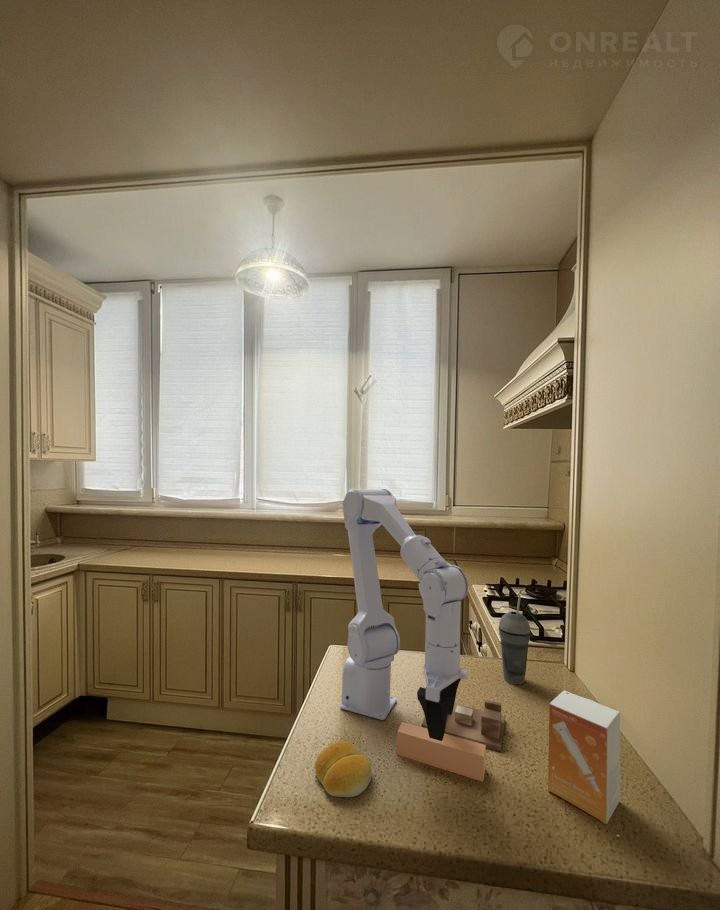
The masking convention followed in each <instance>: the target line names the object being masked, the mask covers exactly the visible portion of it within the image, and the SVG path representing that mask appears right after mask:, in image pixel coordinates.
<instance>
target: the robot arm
mask: <svg viewBox="0 0 720 910" xmlns="http://www.w3.org/2000/svg"><path fill="white" fill-rule="evenodd" d="M341 505H342V512H343V513H342V514H343V520H344V527H345V530H347V537H348V543H349V550H350V558H351V565H352V566H351V567H352V574H353V581H354V582H353V583H354V589H355V597H356V598H355V599H356V604H357V613H356V615H355V616H354V618H352V620H350V622H349V624H347V625H348V626H347V628H348V638H347V651H348V654H349V656H348V657H347V658H346V659H345V660H346V661H345V663H344V667H343V671H342V687H341V704H340V705H339V707H340V708H339V709H341V710H346V711H348V712H353V713H355V714H360V715H362V716H366V717H370V718H373V719H377V720H380V721H384V720H386V718H387V717H388V715H389V713H390V711H391V710H392V708H393V707H394V705H395V704H396V702H397V698H396V697H393V696H391V678H392V677H391V676H392V662H394V661H395V656H396V655H397V654H398V653H399V651H400V648H401V638H400V633H399V631H398V629H397V627H396V624H395V617H394V616H392V615H391V614H390V613H388V612H387V611H386V610H385V609H384V606H383V599H382V591H381V586H380V585H381V584H380V580H379V579H380V578H379V572H378V565H377V557H376V550H375V543H374V539H373V534H374V533H375V531H376V530H377V529H378V528H380V527H381V526H382V527H383V528H385V530H386V532H388V533H389V534H390V535H391V536H392V538H393V539H394V540H395V541H396V542H397V543H398V544H399V546H400V552H399V553H400V557H401V558H402V560H403V561H404V562H405V564H406V565H407V566H408V567H409V569H410V571H411V572H412V573H413V575H414V576H415V578H416V579H417V580H418V581H419V582H418V591H419V594H420V596H421V599H422V605H423V607H422V608H423V610H424V613H425V639H424V640H425V642H424V643H425V644H424V645H425V647H424V664H423V673H424V680H425V682H426V685H425V687H421V686H420V687H418V690H417V692H416V698H417V700H418V702H419V704H420V706H421V708H422V710H423V715H424V718H425V719H426V724H427V729H428V734H429V737H430V738H432V739H436V740H439V741H442V740H443V737H444V734H445V728H446V722H447V716H448V714H449V715H451V714H452V712H453V708H454V704H456V702H455V701H456V697H457V692H458V687H459V685H460V683H461V680H466V678H467V676H468V670H466V669H464V668H461V665H460V663H461V616H462V615H461V611H462V610H461V605H462V601H461V600H464V599H465V598H466V597H467V595H468V592H469V582H468V581H469V580H468V578H467V576H466V573H464V571H463V569H462V568H461V567H459V566H458V565H455V564H451V563H450V562H447V561H446V559H445V558H444V557H443V556H442V555H440V553H439V552H438V551H437V549H436V548H435V547H434V546H433V545H432V544H431V543H432V541H431V540H430V539H429V538H428V537H426V536H424V535H417V534H415V532H414V531H413V529H412V528H411V526H410V525H409V524H408V522H407V520H406V519H405V517H404V516H403V515H402V513H401V512H400V511H399V509H398V507H397V498H396V497H395V496H393V494H392V492H391V491H390V490H389V489H387V488H381V489H372V488H371V489H366V488H365V489H362V488H361V489H357V488H350V489H349V490H348V491H347V492H346V494H345V496H344V498H343V500H342V502H341Z"/></svg>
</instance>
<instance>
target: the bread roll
mask: <svg viewBox="0 0 720 910" xmlns="http://www.w3.org/2000/svg"><path fill="white" fill-rule="evenodd" d="M314 771H315V775H316V777H317V778H318V780H319V782H320V783H321V785H322V786H323V788H324V789H325V792H326V793H327V794H328V795H330V796H331V797H335V798H353V797H356V796H359V795H361V794H362V793H363V792H364V791H366V790H367V788H368V785H369V784H370V782H371V780H372V766H371V762H370V761H369V759H368V758H367V757H366V756H364V755H363V754H362V751H361V750H360V749H359V748H358V747H357V746H355V745H354V744H353V743H352V742H351V743H350V742H348V741H344V740H342V741H335V742H332V743H331V744H329V745H327V746H326V747H325V748H324V749H323V750H321V752H320V753H319V754H318V756H317V758H316V759H315V763H314Z"/></svg>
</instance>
